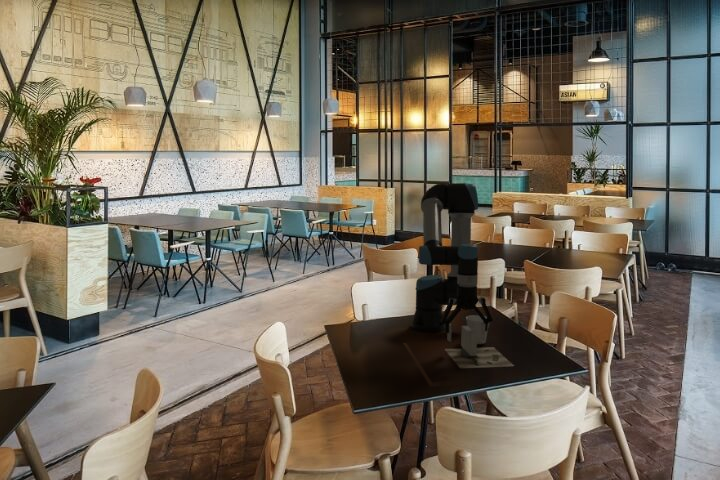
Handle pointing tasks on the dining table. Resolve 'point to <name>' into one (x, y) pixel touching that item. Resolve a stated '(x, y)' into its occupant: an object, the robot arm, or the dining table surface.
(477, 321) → the cup
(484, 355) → the board
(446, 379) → the dining table surface
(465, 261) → the robot arm
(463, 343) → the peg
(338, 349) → the dining table surface
